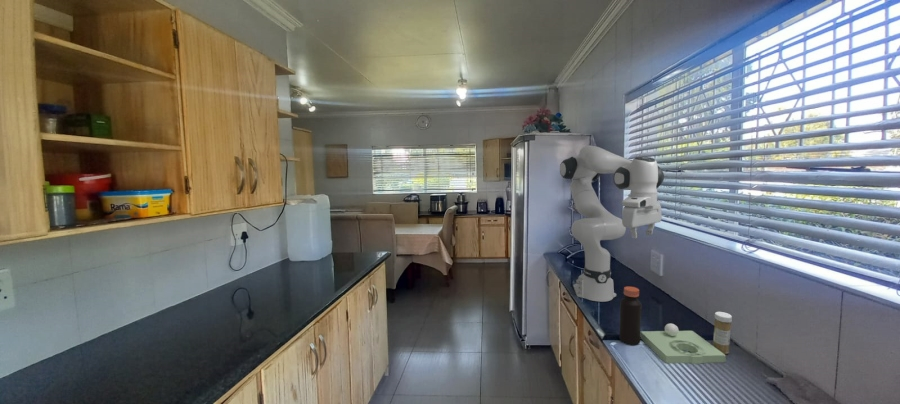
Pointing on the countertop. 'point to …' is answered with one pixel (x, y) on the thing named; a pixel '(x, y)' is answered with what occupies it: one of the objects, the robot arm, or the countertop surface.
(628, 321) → the vinegar
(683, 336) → the putting mat
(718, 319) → the sprinkles bottle
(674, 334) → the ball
